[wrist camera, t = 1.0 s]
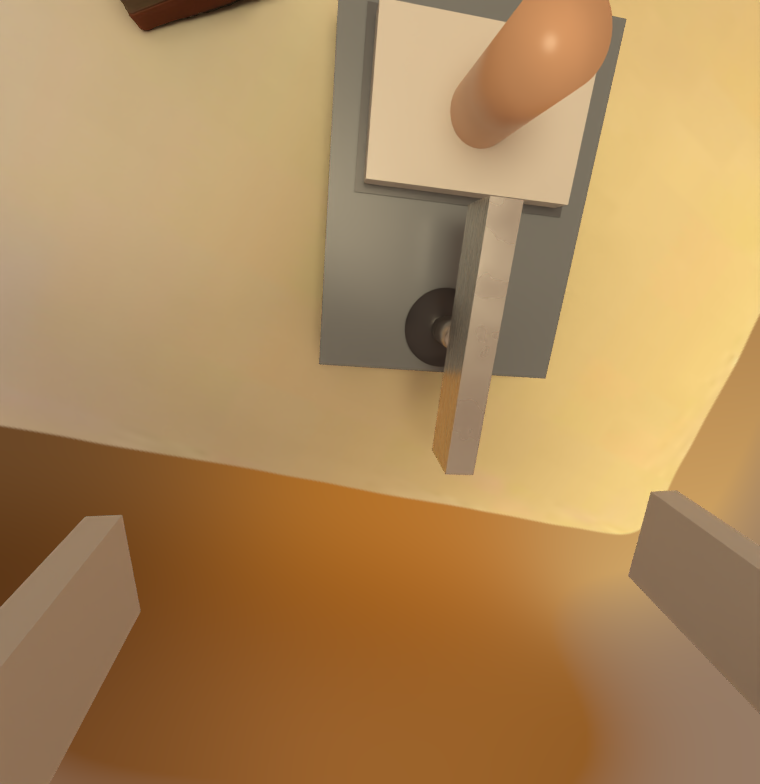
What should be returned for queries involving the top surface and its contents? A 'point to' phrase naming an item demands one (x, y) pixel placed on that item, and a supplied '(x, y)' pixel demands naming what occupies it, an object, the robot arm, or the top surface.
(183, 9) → the electronic device
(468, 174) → the cover
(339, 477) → the top surface
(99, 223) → the top surface
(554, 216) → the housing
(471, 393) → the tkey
